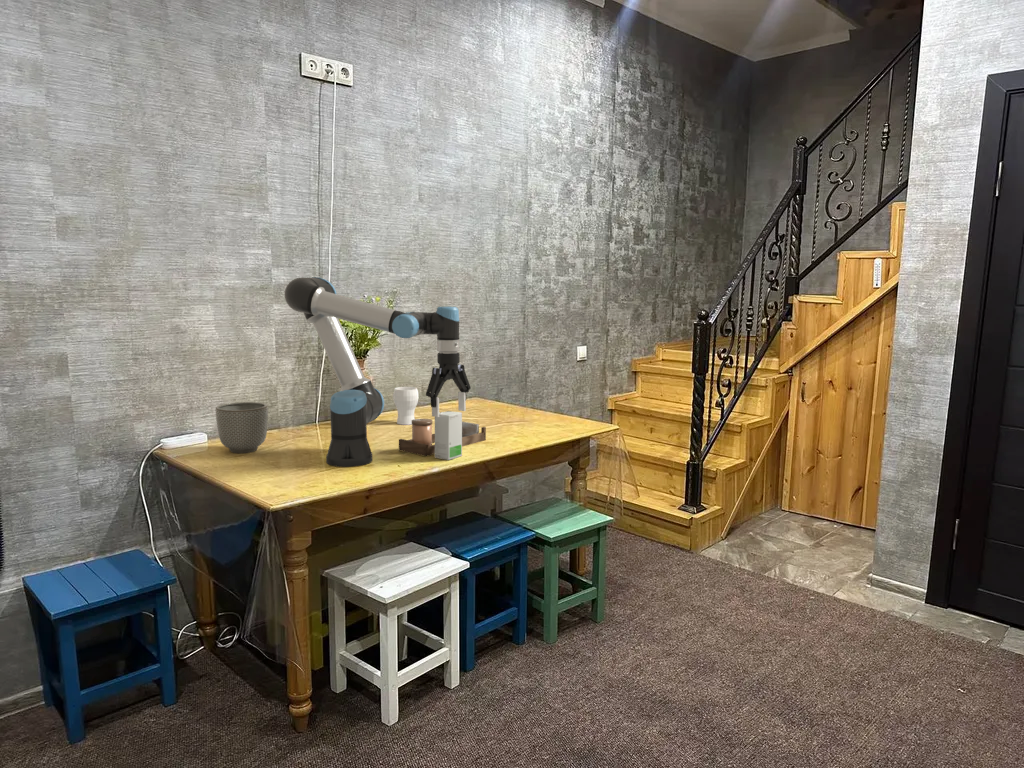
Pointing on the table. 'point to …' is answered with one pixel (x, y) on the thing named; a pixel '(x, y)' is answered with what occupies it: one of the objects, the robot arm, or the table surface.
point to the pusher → (469, 429)
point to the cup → (405, 404)
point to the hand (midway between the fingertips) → (449, 413)
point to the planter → (242, 425)
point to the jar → (422, 431)
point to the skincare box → (448, 435)
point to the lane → (430, 450)
